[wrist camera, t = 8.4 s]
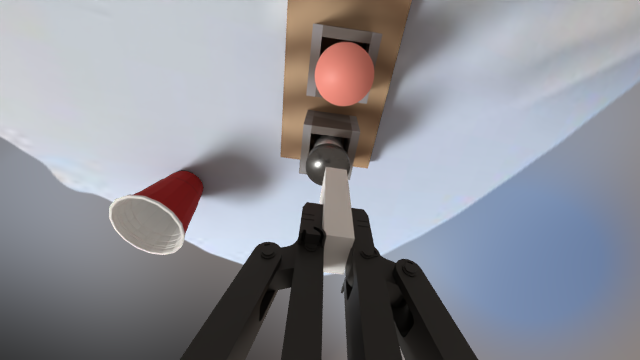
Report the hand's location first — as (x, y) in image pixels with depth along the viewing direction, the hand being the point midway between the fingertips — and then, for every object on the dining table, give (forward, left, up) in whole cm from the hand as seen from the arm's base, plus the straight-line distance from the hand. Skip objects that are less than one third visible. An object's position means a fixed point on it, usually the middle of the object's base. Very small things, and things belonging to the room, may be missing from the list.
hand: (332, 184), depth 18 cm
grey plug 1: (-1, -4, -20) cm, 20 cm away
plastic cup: (-28, -10, -22) cm, 37 cm away
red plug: (+2, +6, -18) cm, 19 cm away
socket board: (+2, +6, -22) cm, 23 cm away
